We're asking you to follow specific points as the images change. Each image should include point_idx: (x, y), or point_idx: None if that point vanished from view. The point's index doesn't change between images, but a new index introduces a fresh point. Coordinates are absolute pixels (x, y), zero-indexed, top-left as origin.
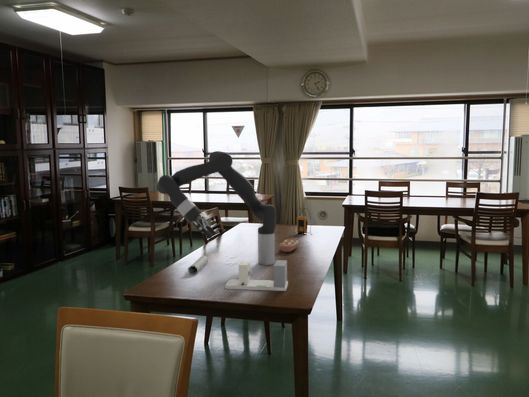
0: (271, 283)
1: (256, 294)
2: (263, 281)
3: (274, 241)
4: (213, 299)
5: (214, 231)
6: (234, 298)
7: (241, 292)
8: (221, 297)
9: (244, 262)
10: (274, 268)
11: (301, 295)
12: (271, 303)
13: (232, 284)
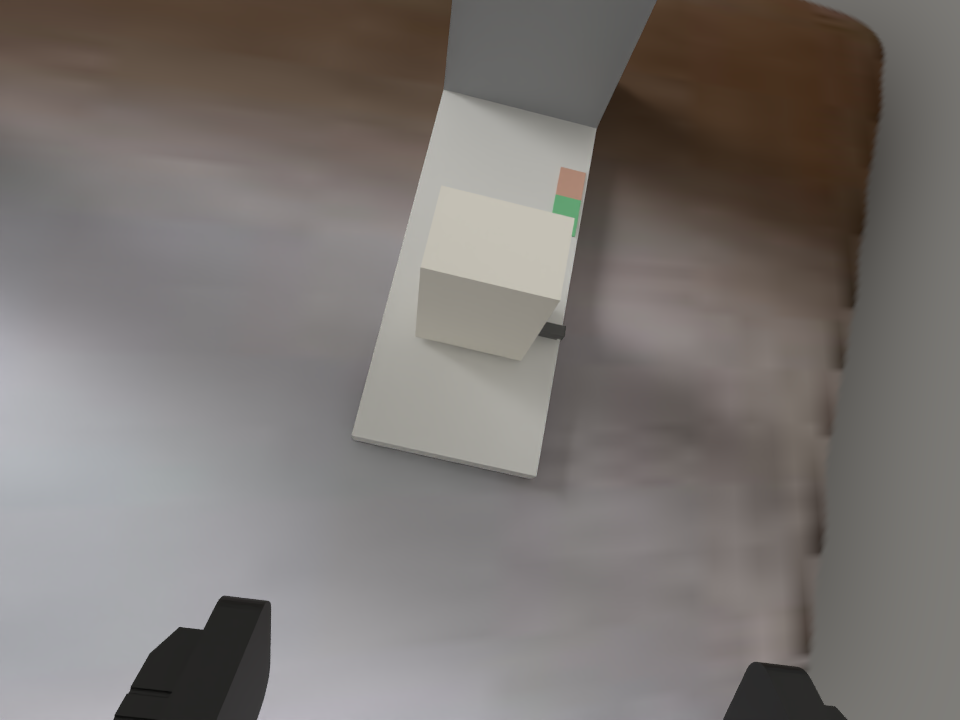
0: (508, 130)
1: (669, 256)
2: (454, 177)
3: None
4: (785, 563)
5: (245, 645)
6: (755, 406)
7: (627, 354)
8: (739, 502)
9: (460, 237)
10: (649, 14)
11: (684, 13)
12: (829, 187)
13: (515, 415)
